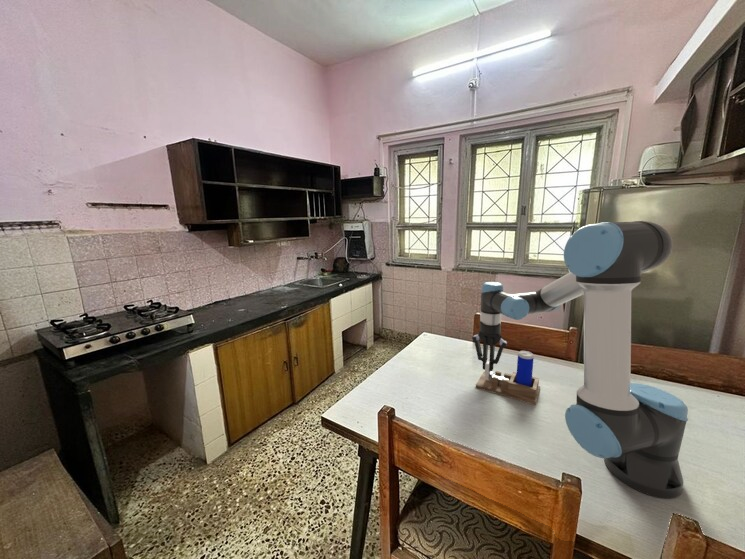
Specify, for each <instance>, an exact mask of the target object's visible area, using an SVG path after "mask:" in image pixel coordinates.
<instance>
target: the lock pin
mask: <svg viewBox="0 0 745 559" xmlns="http://www.w3.org/2000/svg"><path fill="white" fill-rule="evenodd" d="M494 374H495V371H493V370H492V371H490V373H489V381H488V382H491V383H492V377H493V376H495V377H498V384H499V385H501V380H502V379H506V380H509V378H505V377H504V376H503V375H501V376H498V375H494ZM502 376H503V377H502Z"/></svg>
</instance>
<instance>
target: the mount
mask: <svg viewBox="0 0 745 559" xmlns="http://www.w3.org/2000/svg"><path fill="white" fill-rule="evenodd" d="M494 375H498V376H502V377H505V378H509V380H506V379H502V380H501V385H499V384H498V377H495V376H493V377H492V383H491V382H488V381H489V379H485V371H483V372H482V374H481V376H480V377H479V379H478V380H477V382H476V384H475V388H477V389H479V390H480V389H481V390H483V391H488V392H490V393H493V394H496V395H501V396H504V397H507V398H510V399H514V400H517V401H521V402H524V403H526V404H530V405H534V406H536V405H537V402H538V397H539V393H540V390H541V386H540V385H539V384H540V378H539V377H537V376H532V384H531V387H529V386H526V385H522V384H518V383H516V376H517V371H513V372H512V373H511V374H510V373H506V372H504V373H503V375H502V371H499V370H495V371H494Z"/></svg>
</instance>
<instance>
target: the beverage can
mask: <svg viewBox="0 0 745 559" xmlns="http://www.w3.org/2000/svg"><path fill="white" fill-rule="evenodd" d="M516 363H517V364H516V373H517V376H516V383H518V384H522V385H526V386H529V387H531V384H532V377H533V368H534V353H532V352H531V351H529V350H520V351H519V352H518V353H517V362H516Z"/></svg>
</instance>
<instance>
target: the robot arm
mask: <svg viewBox="0 0 745 559" xmlns="http://www.w3.org/2000/svg"><path fill="white" fill-rule="evenodd" d="M673 245H674V242H673V238H672V235H671V234H670V232H669V231H668V230H667V229H666V228H664V227H663V226H662V225H660V224H659V223H655V222H652V221H645V220H636V221H635V220H633V221H615V222H613V221H611V222H610V221H607V222H603V221H602V222H599V223H591V224H587V225H584V226H582V227H580V228H578V229H577V230H575V231H574V232H573V233H572V235H570V237H569V238H568V240H567V241H566V243H565V245H564V246H565V247H564V249H563V250H564V251H563V260H564V264H565V266H566V267H568V271H569V272H568V273H566V274H565V275H563V276H561V277H560V278H557V279H555V280H554V281H552V282H550V283H548V284H547V285H545V286H543V287H542V288H539V289H538V290H536V291H527V292H520V293H519V292H518V293H508V292H506V291H504V284H503V283H501V282H497V281H486V282H484V283H482V285H481V292H480V315H479V316H480V317H479V321H480V322H479V332H478V334H474V335H473V336H472V337H471V339H472V341H473V342H474V346H475V351H476V356H477V359H478V361H481V362H482V370H484V372H485V379H489V373H490V371H492V372H493V370H494V365H497V364H498V363H499V361H500V359H501V356H502V353H503V351H504V348H505V347H506V346H507V344H508V341H507V340H504V339H503V338H502V334H501V328H502V324H501V322H502V316H505V317H507V318H510V319H513V320H515V321H520V320H523V318H526V317H527V316H528V315H529V314H538V313H539V314H540V313H549V312H553V311H557V310H558V309H559V308H560V307H561V306H562V305H563V304H566V303H567V302H570V301H571V300H574V299H576V298H579V297H581V296H583V384H582V386H580V387H578V388H577V389H576V404H571V405H570V406H569V407H568V408H566V409H565V413H564V417H565V418H564V419H565V424H566V427H567V428H568V430H569V433H570V434H571V436H572V437H573V438H574V440H575V442H576V443H577V444H578V445H579V446H580V447H581V448H582V449H583V450H584V451H586V452H587V453H588V454H590V455H591V456H593V457H597V458H599V459H603V461H604V464H605V466H606V467H607V469H608V470H609V471H610V472H611V473H612V474H613V476H615V477H616V478H617V479H618V480H619V481H621V482H622V483H624V484H626V485H627V486H629V487H631V488H632V489H634V490H636V491H638V492H640V493H643V494H645V495H648V496H651V497H654V498H659V499H674V498H677V497H679V496H680V495H682V492H683V488H684V478H683V474H682V470H681V466H680V462H679V455H680V451H681V446H682V443H683V439H684V433H685V428H686V425H687V422H688V419H689V418H688V414H689V409H688V406H687V404H686V403H685V402H684V401H683V400H682V399H680V397H677V396H676V395H674V394H672V393H670V392H667V391H665V390H663V389H661V388H658V387H655V386H651V385H649V384H643V383H640V382H639V383H638V382H631V367H632V366H631V363H632V361H631V358H632V357H631V356H632V352H631V351H632V291H633V290H634V289H635V288H637V286H639V285H640V284H641V283H642V274H643V273H647V272H648V271H651V270H654V269H655V268H657V267H660V266H661V265H662V264H664V263H665V262H666V261H667V260H668V259H669V258H670V256H671V254H672V251H673V249H674V248H673V247H674V246H673ZM481 342H482V344H483V345H482V347H481ZM498 343H499V345H500V346H499V347H498V351H497V353H496V356H495V352H496V351H495V347H496V345H497V344H498ZM482 349H483V350H482ZM488 353H489V360H488Z"/></svg>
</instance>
